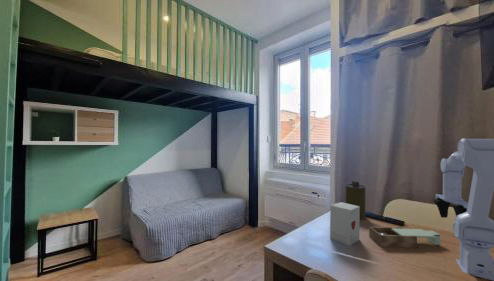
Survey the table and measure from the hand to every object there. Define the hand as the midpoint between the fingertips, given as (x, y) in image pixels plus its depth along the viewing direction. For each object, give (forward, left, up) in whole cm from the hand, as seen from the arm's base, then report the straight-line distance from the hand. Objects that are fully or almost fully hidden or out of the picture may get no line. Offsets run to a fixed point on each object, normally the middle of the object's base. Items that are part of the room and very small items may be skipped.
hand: (451, 220), depth 91 cm
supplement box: (-21, +38, -10) cm, 45 cm away
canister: (+15, +38, -10) cm, 42 cm away
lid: (-8, +12, -9) cm, 17 cm away
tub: (-13, +21, -10) cm, 27 cm away
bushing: (-14, +24, -9) cm, 29 cm away
